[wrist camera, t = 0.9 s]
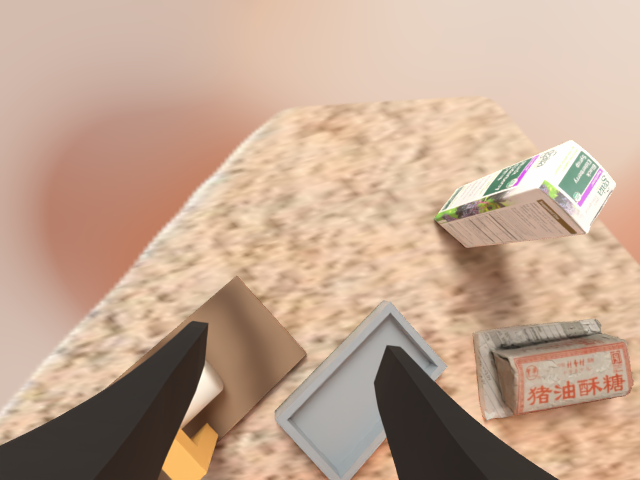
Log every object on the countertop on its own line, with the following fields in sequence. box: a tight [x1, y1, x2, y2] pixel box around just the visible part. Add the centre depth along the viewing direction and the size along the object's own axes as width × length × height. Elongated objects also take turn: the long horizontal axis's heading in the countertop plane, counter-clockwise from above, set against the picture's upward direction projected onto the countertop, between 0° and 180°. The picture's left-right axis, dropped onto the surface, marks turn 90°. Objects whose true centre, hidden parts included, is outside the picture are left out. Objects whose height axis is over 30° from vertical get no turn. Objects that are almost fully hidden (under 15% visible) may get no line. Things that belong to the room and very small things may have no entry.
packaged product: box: [473, 319, 634, 420], centre depth 35 cm, size 18×5×10 cm
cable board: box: [107, 276, 306, 480], centre depth 29 cm, size 22×11×1 cm, turn 132°
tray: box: [275, 300, 447, 480], centre depth 32 cm, size 17×10×2 cm, turn 132°
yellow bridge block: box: [162, 423, 218, 480], centre depth 25 cm, size 2×10×6 cm, turn 42°
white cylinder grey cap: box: [180, 360, 223, 429], centre depth 26 cm, size 11×4×4 cm, turn 132°
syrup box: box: [434, 140, 616, 248], centre depth 30 cm, size 6×6×14 cm
